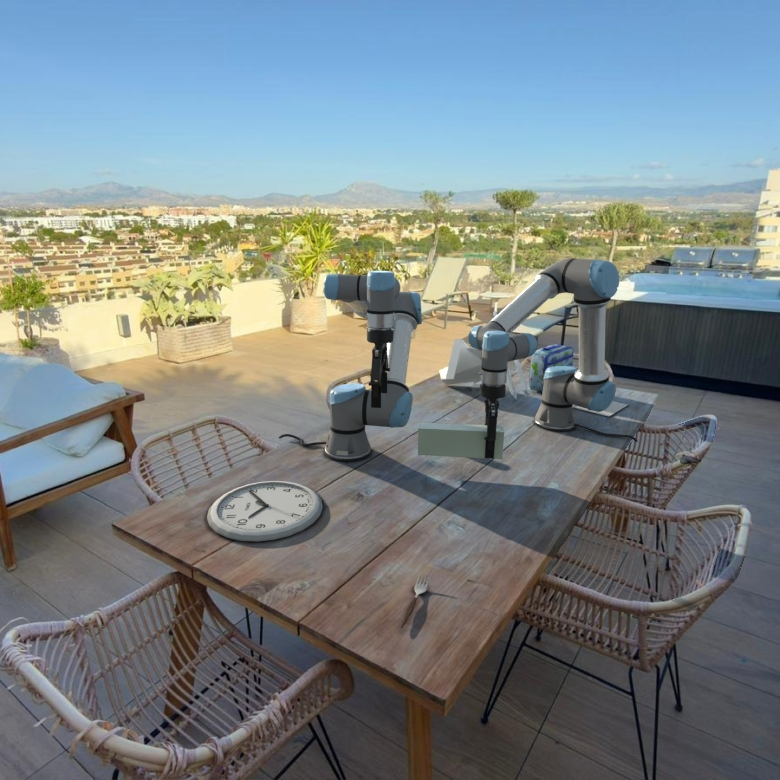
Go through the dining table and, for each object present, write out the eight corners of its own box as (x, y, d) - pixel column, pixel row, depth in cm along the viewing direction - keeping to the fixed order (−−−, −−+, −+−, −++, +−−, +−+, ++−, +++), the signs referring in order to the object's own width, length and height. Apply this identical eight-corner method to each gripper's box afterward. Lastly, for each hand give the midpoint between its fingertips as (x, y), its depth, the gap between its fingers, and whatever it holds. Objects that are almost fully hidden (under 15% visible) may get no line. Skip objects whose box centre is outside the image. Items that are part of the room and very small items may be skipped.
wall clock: (320, 533, 126) (192, 537, 124) (320, 539, 127) (193, 543, 124) (324, 476, 155) (220, 479, 152) (324, 481, 155) (221, 484, 153)
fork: (394, 628, 99) (394, 619, 99) (419, 578, 113) (419, 570, 113) (407, 632, 98) (408, 623, 98) (430, 581, 113) (431, 573, 112)
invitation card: (608, 416, 214) (573, 407, 224) (608, 416, 214) (573, 408, 224) (628, 404, 229) (594, 396, 238) (628, 405, 229) (594, 397, 238)
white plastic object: (461, 429, 252) (437, 405, 227) (444, 352, 274) (420, 323, 250) (535, 404, 240) (518, 377, 215) (510, 326, 262) (492, 293, 237)
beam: (501, 452, 165) (502, 425, 163) (502, 459, 161) (504, 432, 158) (418, 448, 168) (419, 422, 165) (417, 455, 164) (418, 428, 161)
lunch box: (545, 397, 238) (550, 352, 231) (524, 391, 245) (529, 348, 239) (572, 386, 255) (578, 344, 249) (552, 381, 262) (557, 340, 256)
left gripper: (373, 319, 158) (373, 386, 165) (359, 336, 135) (359, 413, 141) (398, 320, 157) (396, 388, 164) (388, 337, 134) (386, 415, 140)
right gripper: (479, 374, 165) (475, 442, 172) (481, 392, 148) (477, 466, 155) (503, 375, 164) (498, 443, 171) (508, 393, 147) (503, 467, 154)
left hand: (379, 399), depth 152 cm, fingers open, 13 cm apart
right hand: (488, 454), depth 163 cm, fingers closed on beam, 5 cm apart
